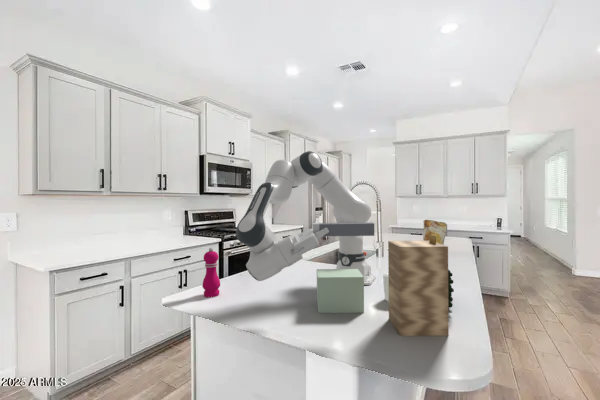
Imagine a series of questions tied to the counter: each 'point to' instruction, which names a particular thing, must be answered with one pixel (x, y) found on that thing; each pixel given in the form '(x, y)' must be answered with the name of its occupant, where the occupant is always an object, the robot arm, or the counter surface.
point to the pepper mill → (211, 274)
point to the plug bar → (346, 229)
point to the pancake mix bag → (435, 230)
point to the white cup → (386, 286)
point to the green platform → (340, 291)
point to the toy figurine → (450, 289)
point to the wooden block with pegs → (418, 287)
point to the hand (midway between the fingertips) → (327, 228)
